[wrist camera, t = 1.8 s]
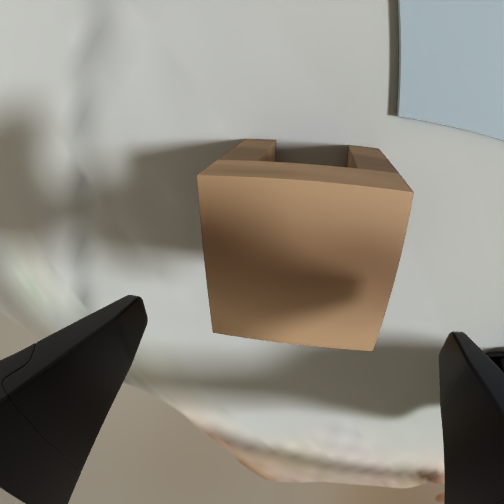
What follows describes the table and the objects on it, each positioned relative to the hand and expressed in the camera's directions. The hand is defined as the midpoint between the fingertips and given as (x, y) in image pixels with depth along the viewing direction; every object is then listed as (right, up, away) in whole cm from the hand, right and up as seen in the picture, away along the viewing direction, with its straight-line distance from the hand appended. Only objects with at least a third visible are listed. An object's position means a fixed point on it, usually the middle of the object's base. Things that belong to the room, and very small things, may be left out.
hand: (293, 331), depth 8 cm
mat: (+12, +13, 0) cm, 18 cm away
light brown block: (+2, +5, +8) cm, 9 cm away
